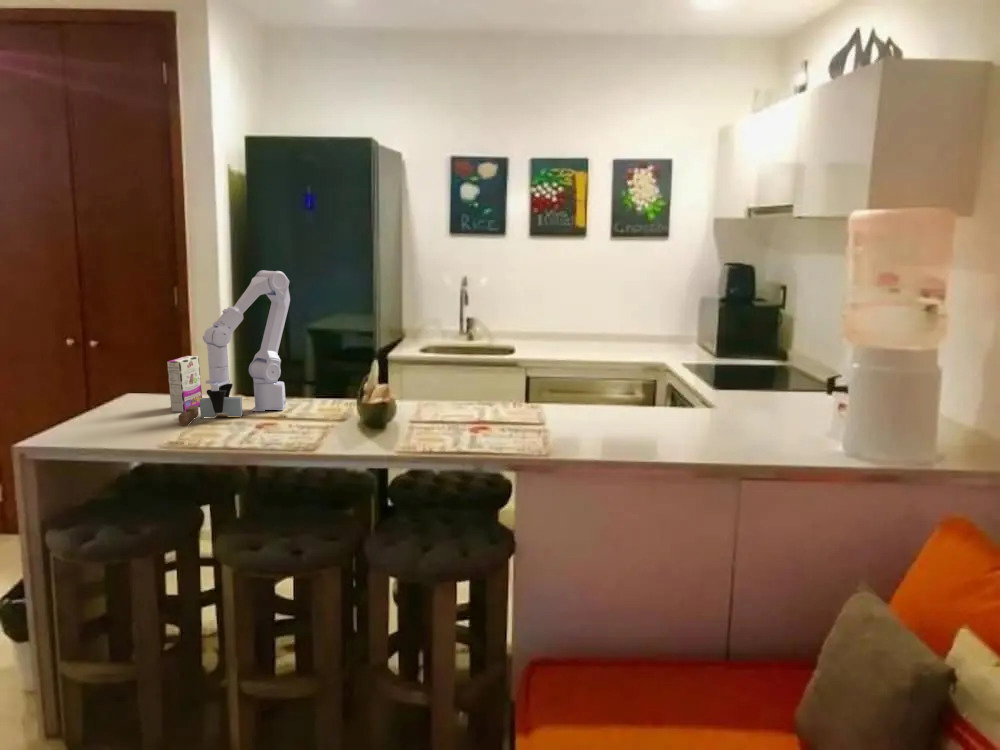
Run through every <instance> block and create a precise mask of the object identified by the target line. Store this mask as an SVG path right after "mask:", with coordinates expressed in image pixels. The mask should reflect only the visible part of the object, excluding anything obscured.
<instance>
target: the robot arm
mask: <svg viewBox="0 0 1000 750" xmlns="http://www.w3.org/2000/svg"><path fill="white" fill-rule="evenodd" d="M288 278H289V277H288V276H286V274H285V273H284V272H283V271H280V270H276V271H274V270H265V269H264V270H263V269H262V270H259V271H257V273H256V274H255V276H254V277H252V278H251V281H250V283H249V285H248V286H247V288H246V289H245V291H244V292H243V293H242V294H241V296H240V297H239V298H238V300H237V302H236V303H235V304H234V305H233V306H229V307H226V308H223V310H222V311H221V312H222V314H221V315H220V316H219V317H218V319H217V320H216V321H214V322H213V323H212V326H210V327H208V328H207V329H206V330H205V331H204V334H203V336H202V340H203V342H204V343H205V344H206V348H207V360H208V361H207V363H208V364H207V365H208V376H209V377H208V378H209V379H208V380H205V384H209V385H210V389H207V390H206V394H207V395H208V398H210V399H211V402H212V405H213V409H214V412H215V413H217V414H223V413H222V411H223V403H224V397H230V394H231V390H232V388H233V383H231V379H230V372H229V356H228V344H230V342H231V337H232V336H231V335H233V332H235V330H236V329H237V328H238V326H239V325H240V324H241V323H242V322H243V321H244V313H245V312H246V311H247V310H248V308H249V307H250V306H252V305H253V303H254V302H255V301H256V300H257V299H258V298H259V297H260V296H262V295H266V297H267V298H268V299H269V300H270V302H271V303H270V306H269V307H270V309H269V312H268V316H267V320H266V325H265V329H264V332H263V337H262V341H261V345H260V349H259V351H257V353H255V355H254V357H253V360H252V361H251V362H250V364H249V366H248V373H249V375H250V377H251V378H252V380H253V395H254V407H253V408H252V410H251V411H252V412H253V411H255V412H266V411H265V410H282V411H284V410H285V408H286V406H287V405H286V401H287V400H286V386H285V382H284V381H280V380H279V378H280V377H281V375H282V374H281V373H282V370H281V363H282V359H281V358H280V355H278V354H279V348H280V344H281V340H282V336H283V332H284V328H285V323H286V320H287V315H288V311H289V307H290V304H291V303H290V302H291V295H290V291H289V290H290V289H289V285H290V280H289V279H288ZM278 380H279V381H278Z"/></svg>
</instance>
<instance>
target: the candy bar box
mask: <svg viewBox="0 0 1000 750" xmlns="http://www.w3.org/2000/svg"><path fill="white" fill-rule="evenodd" d="M166 367H167V375H168V386H169V398H170V407H171V408H170V409H171V410H170V411H171V412H172V413H182V412H186V409H187V408H188V407H190V406H198V408H200V399H201V398H203V393H202V392H203V391H202V381H201V370H200V357H199V356H198V355H194V356H193V355H186V356H182V357H179V358H175V359H172V360H168V361H166Z"/></svg>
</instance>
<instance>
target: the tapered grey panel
mask: <svg viewBox="0 0 1000 750" xmlns="http://www.w3.org/2000/svg"><path fill="white" fill-rule="evenodd" d="M242 400H243V399H242V396H229V397H224V403H223V411H222V413H221V414H226V417H227V416H242V414H243V401H242ZM199 408H200V409H199V414H200V419H201V418H204V417H215V416H216V415H217V414H218V413H215V412H214V409H213V405H212V402H211V399H210V397H202V398H201V399H200V406H199ZM242 417H243V416H242Z"/></svg>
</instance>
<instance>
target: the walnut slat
mask: <svg viewBox="0 0 1000 750" xmlns="http://www.w3.org/2000/svg"><path fill="white" fill-rule="evenodd" d="M199 414H200V410H199V407H198V406H190V407H188V408H187V409H186V412H180V414H179V415H178V426H179V427H180V426H182V427H183V425H185V426H189V425H190V424H191V423H192V422H193V421H194V420H195V419H196V418H197V417H199V416H198V415H199ZM194 418H195V419H194ZM193 419H194V420H193ZM192 420H193V421H192ZM191 421H192V422H191ZM190 422H191V423H190ZM189 423H190V424H189ZM188 424H189V425H188Z"/></svg>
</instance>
